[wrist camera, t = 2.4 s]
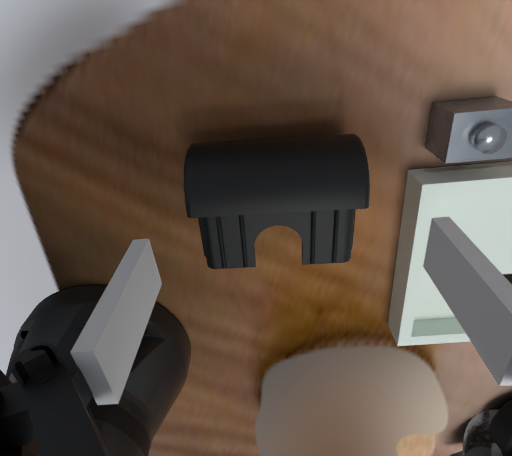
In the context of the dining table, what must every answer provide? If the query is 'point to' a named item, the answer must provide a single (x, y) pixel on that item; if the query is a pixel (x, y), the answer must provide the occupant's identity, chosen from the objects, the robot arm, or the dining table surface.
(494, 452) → the caster wheel
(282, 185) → the end cap
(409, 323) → the pale green tray
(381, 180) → the dining table surface
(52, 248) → the dining table surface
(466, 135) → the block
